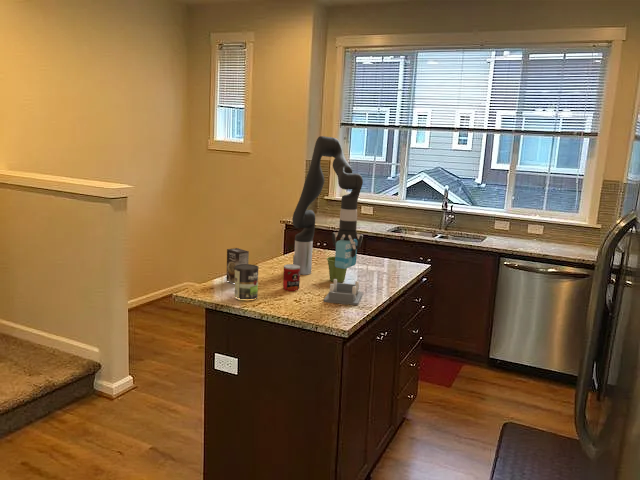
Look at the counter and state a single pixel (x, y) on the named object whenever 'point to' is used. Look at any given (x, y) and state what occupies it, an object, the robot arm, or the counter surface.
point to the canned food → (291, 277)
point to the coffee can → (246, 281)
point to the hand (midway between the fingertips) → (346, 256)
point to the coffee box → (235, 261)
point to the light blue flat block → (344, 254)
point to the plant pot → (335, 271)
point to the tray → (344, 293)
